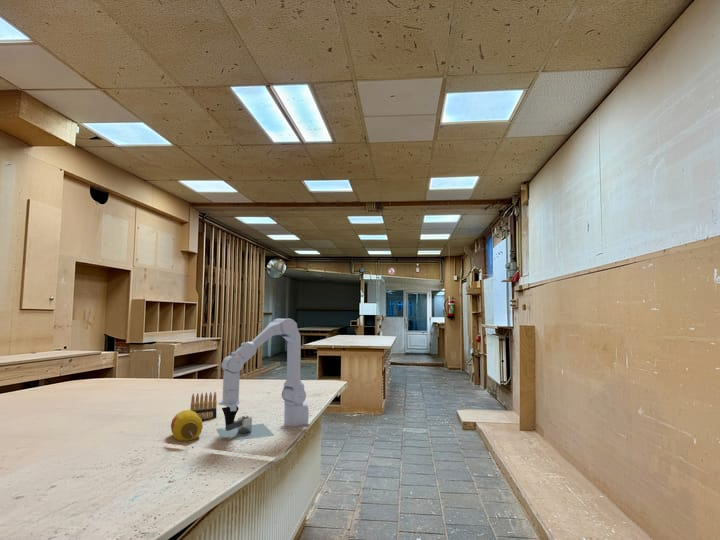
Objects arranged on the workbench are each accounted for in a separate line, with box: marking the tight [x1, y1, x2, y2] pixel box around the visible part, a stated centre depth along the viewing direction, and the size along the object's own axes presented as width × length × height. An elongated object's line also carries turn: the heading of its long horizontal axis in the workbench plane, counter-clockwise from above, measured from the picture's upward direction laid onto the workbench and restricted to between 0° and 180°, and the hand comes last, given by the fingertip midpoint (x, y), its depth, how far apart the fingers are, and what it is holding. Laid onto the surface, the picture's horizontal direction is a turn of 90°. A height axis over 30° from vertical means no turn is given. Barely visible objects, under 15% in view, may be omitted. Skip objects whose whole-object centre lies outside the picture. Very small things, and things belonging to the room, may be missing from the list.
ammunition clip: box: [189, 391, 217, 423], centre depth 172 cm, size 11×2×12 cm, turn 119°
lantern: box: [170, 409, 204, 442], centre depth 146 cm, size 10×10×30 cm
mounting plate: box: [216, 423, 275, 443], centre depth 151 cm, size 18×18×1 cm
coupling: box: [225, 415, 253, 433], centre depth 148 cm, size 12×5×5 cm, turn 159°
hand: (229, 427), depth 147 cm, fingers closed, pressing on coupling
